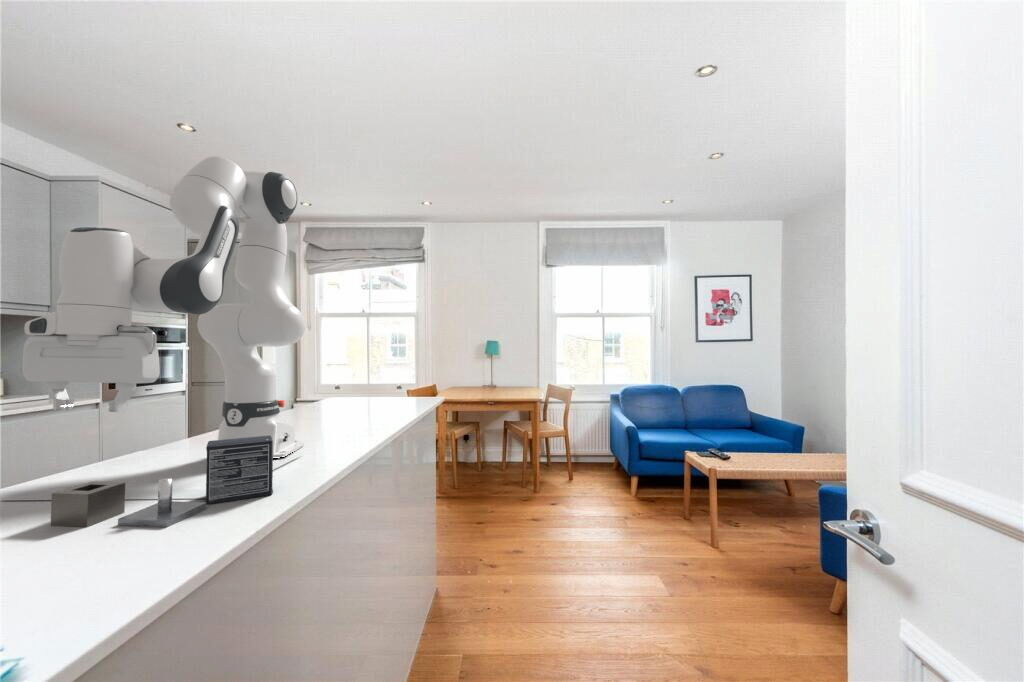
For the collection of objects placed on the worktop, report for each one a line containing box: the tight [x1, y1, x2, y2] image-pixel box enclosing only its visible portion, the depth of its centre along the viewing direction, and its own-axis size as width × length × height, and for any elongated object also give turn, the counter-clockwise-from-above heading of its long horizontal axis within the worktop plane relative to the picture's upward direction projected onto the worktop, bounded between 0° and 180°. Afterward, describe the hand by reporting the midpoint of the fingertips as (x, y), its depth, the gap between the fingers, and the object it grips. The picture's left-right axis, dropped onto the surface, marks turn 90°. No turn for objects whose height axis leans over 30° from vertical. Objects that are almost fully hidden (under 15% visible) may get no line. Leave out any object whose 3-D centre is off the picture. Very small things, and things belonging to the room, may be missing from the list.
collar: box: [50, 480, 126, 528], centre depth 69 cm, size 6×6×5 cm
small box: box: [204, 435, 274, 506], centre depth 81 cm, size 11×6×10 cm, turn 122°
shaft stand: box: [117, 477, 208, 528], centre depth 71 cm, size 8×8×6 cm
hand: (90, 410), depth 69 cm, fingers open, 8 cm apart
